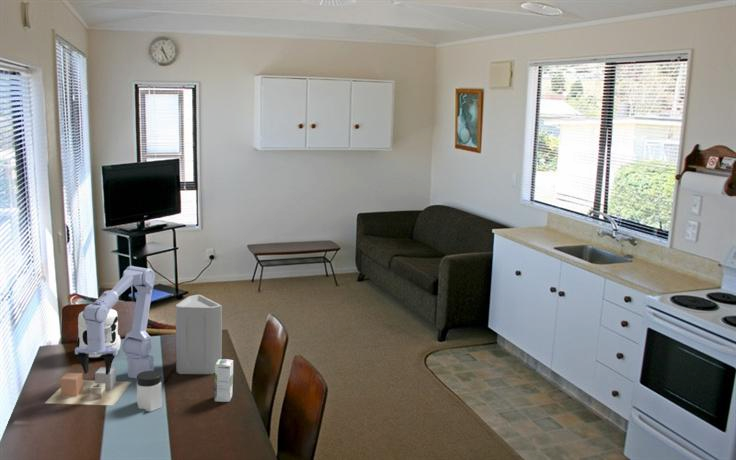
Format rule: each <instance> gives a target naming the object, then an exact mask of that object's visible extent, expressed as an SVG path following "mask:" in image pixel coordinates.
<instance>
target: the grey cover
mask: <svg viewBox="0 0 736 460" xmlns="http://www.w3.org/2000/svg"><path fill="white" fill-rule="evenodd" d="M116 379H117V369H116V367H111V368H110V373H109V374H106V366H101V367H99V368H98V369H97V370H96V371H95V373H94V381H95V383H105V390H111V389H112V388H113V387H114V386H115V384H116V381H117V380H116Z"/></svg>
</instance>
